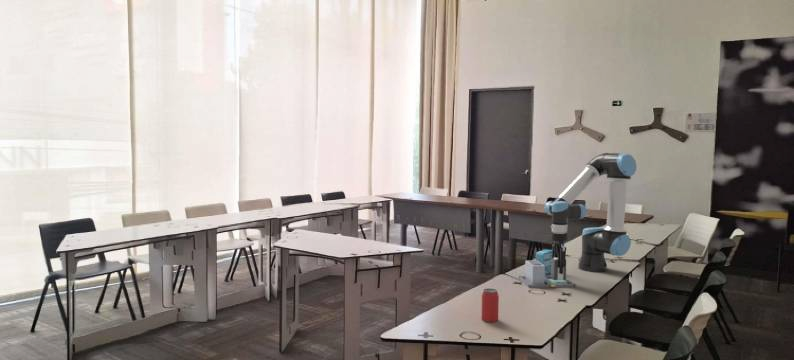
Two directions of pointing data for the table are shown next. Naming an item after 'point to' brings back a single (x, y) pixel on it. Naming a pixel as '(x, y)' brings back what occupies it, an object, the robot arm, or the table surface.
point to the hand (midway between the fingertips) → (558, 278)
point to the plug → (556, 269)
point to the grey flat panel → (549, 283)
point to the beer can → (490, 305)
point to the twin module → (534, 272)
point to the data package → (545, 259)
